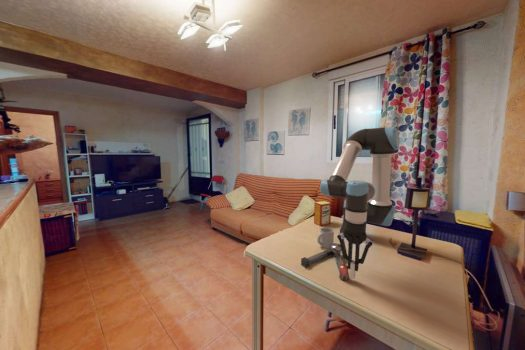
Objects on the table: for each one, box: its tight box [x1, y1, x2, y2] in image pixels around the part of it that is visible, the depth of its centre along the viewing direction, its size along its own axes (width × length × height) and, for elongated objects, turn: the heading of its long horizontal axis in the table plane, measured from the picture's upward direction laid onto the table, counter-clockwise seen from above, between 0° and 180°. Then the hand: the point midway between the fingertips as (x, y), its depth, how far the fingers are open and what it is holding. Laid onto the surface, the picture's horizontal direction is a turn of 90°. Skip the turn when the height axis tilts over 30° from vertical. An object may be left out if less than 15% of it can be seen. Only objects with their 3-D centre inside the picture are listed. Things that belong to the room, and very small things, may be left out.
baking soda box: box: [313, 200, 332, 227], centre depth 142 cm, size 10×6×16 cm
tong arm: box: [331, 242, 349, 281], centre depth 91 cm, size 22×6×5 cm, turn 169°
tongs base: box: [300, 248, 342, 269], centre depth 95 cm, size 22×6×4 cm, turn 124°
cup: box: [316, 227, 335, 249], centre depth 109 cm, size 7×10×9 cm
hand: (352, 276), depth 80 cm, fingers closed
